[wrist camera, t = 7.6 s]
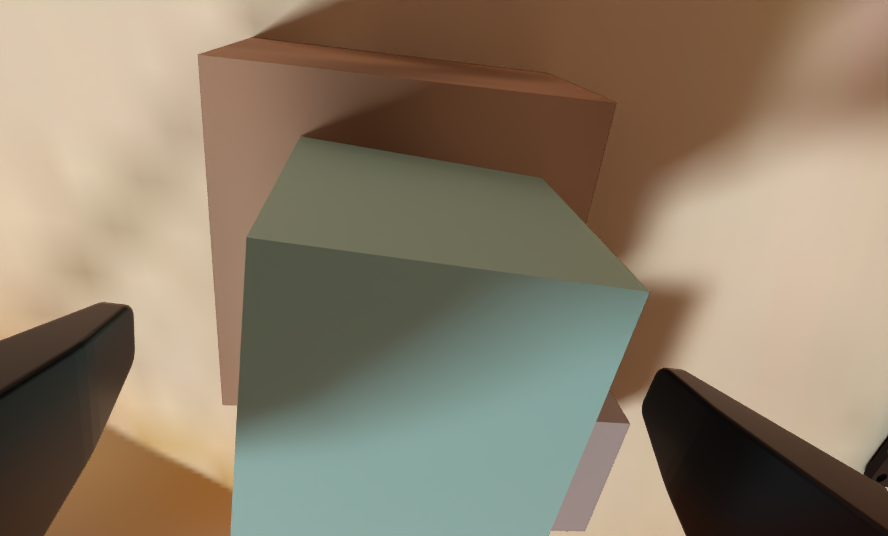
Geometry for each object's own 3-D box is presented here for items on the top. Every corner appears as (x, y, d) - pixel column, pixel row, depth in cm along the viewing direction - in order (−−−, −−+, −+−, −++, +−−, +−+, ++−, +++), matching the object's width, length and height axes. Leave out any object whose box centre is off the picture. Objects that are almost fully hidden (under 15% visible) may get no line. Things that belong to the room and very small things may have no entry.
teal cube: (541, 177, 11) (649, 291, 7) (486, 369, 13) (542, 550, 9) (300, 136, 10) (246, 237, 6) (281, 348, 13) (230, 540, 8)
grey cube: (577, 336, 19) (630, 423, 15) (545, 431, 21) (584, 531, 17) (455, 325, 19) (478, 414, 15) (433, 424, 20) (448, 528, 16)
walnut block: (546, 72, 15) (616, 103, 11) (499, 313, 19) (538, 411, 14) (253, 36, 14) (197, 54, 10) (261, 302, 18) (222, 405, 13)
